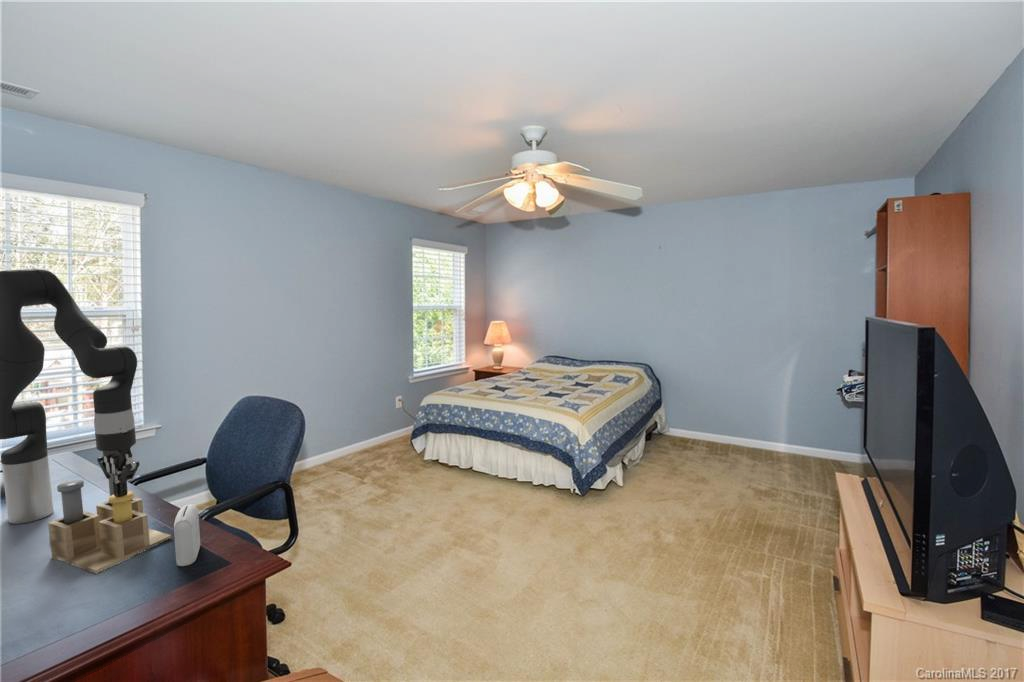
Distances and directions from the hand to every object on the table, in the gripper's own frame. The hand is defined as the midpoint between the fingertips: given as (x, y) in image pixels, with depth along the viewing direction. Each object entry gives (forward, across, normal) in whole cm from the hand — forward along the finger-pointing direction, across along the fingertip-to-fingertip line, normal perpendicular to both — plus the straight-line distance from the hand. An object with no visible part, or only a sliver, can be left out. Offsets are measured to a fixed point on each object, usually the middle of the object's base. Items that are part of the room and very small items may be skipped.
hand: (121, 495), depth 119 cm
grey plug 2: (+7, -10, +5) cm, 13 cm away
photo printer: (+15, +16, +5) cm, 23 cm away
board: (+15, -5, 0) cm, 16 cm away
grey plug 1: (+7, -10, -5) cm, 13 cm away
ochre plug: (+10, 0, 0) cm, 10 cm away
